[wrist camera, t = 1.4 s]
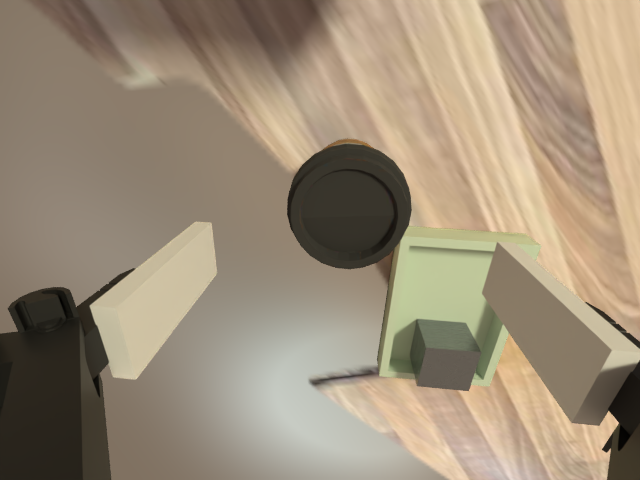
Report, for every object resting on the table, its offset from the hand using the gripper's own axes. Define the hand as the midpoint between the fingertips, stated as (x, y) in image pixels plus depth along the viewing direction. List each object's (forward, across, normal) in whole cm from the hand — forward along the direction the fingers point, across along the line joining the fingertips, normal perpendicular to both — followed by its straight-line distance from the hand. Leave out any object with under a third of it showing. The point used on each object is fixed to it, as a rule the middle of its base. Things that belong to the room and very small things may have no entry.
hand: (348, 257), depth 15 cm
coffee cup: (+20, 0, 0) cm, 20 cm away
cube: (+19, +13, -21) cm, 31 cm away
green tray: (+20, +13, -16) cm, 29 cm away
